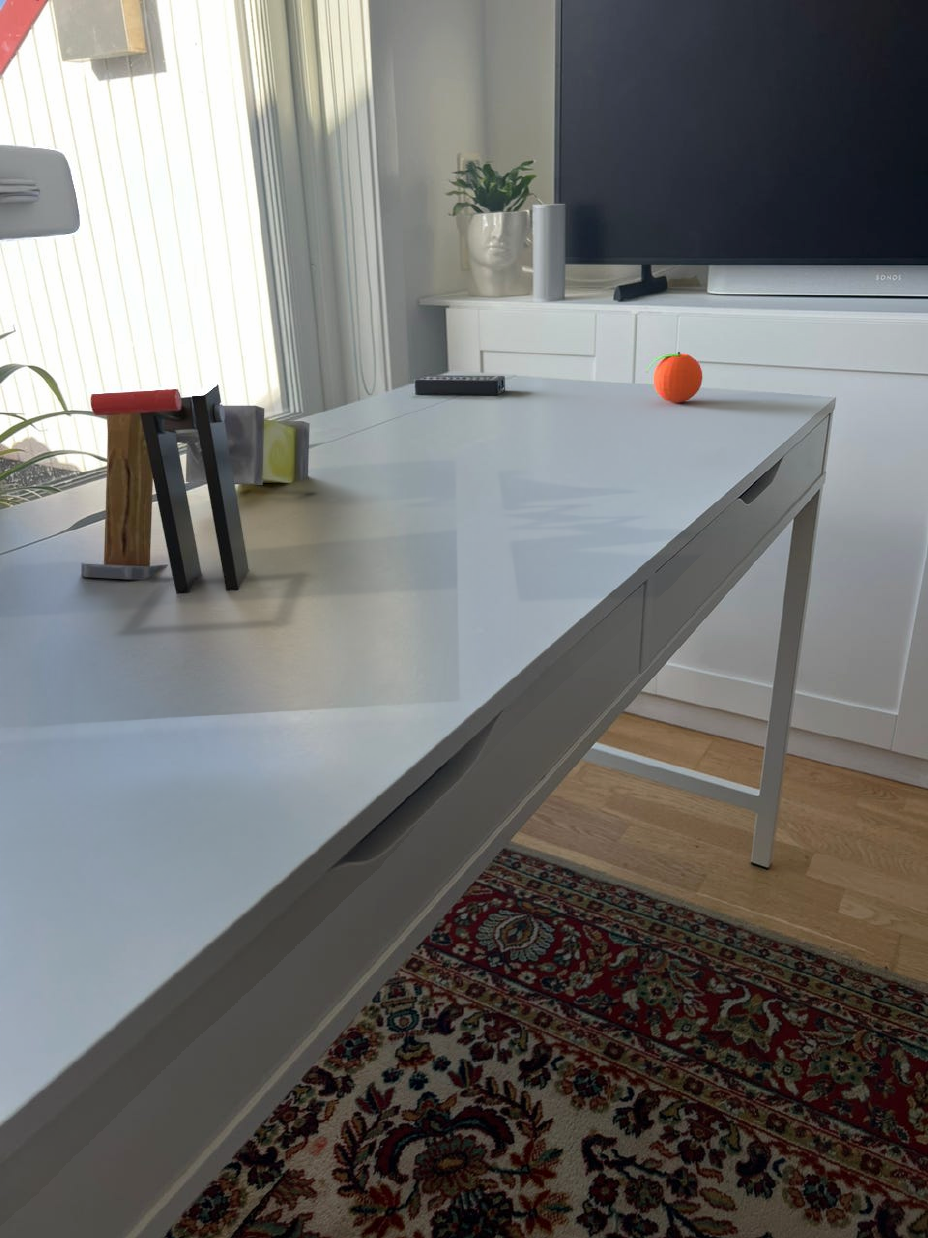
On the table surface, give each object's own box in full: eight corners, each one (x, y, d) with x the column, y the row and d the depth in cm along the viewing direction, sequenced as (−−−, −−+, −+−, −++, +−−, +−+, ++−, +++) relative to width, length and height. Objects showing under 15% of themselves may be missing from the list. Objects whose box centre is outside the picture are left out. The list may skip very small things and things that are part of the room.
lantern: (244, 571, 107) (67, 575, 78) (248, 423, 106) (69, 371, 77) (305, 575, 105) (146, 580, 76) (309, 423, 104) (149, 370, 75)
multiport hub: (424, 388, 156) (423, 374, 155) (506, 389, 151) (505, 375, 150) (414, 394, 152) (413, 379, 151) (497, 395, 147) (496, 380, 146)
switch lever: (176, 417, 60) (173, 378, 59) (92, 422, 60) (87, 384, 59) (225, 430, 72) (222, 398, 71) (154, 434, 72) (151, 403, 71)
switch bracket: (278, 617, 72) (244, 399, 65) (124, 626, 72) (74, 409, 65) (297, 570, 81) (270, 374, 74) (161, 578, 81) (120, 384, 74)
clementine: (649, 408, 132) (650, 357, 129) (642, 399, 138) (643, 350, 135) (705, 405, 132) (708, 354, 129) (696, 396, 138) (698, 347, 135)
